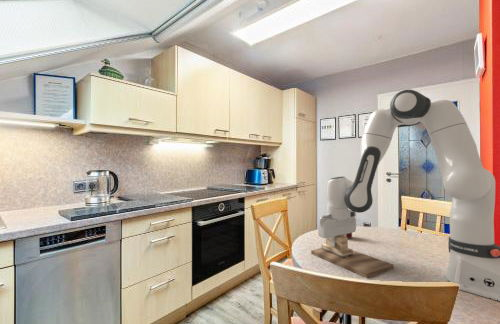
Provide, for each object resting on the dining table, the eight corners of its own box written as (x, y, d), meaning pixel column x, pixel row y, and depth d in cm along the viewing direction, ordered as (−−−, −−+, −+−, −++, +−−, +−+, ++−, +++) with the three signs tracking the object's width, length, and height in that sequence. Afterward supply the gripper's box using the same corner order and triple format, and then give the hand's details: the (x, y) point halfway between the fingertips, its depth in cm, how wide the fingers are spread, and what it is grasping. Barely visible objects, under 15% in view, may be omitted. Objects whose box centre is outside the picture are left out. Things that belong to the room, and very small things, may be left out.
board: (393, 268, 94) (393, 264, 94) (366, 278, 86) (366, 273, 86) (336, 247, 119) (336, 244, 119) (311, 253, 111) (311, 250, 111)
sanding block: (352, 254, 104) (352, 238, 104) (343, 257, 102) (342, 240, 102) (331, 246, 115) (330, 231, 115) (321, 248, 112) (321, 233, 112)
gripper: (325, 217, 100) (326, 251, 100) (358, 212, 110) (359, 243, 110) (314, 214, 106) (315, 246, 105) (346, 210, 115) (347, 239, 115)
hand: (337, 244), depth 108 cm, fingers closed on sanding block, 4 cm apart
